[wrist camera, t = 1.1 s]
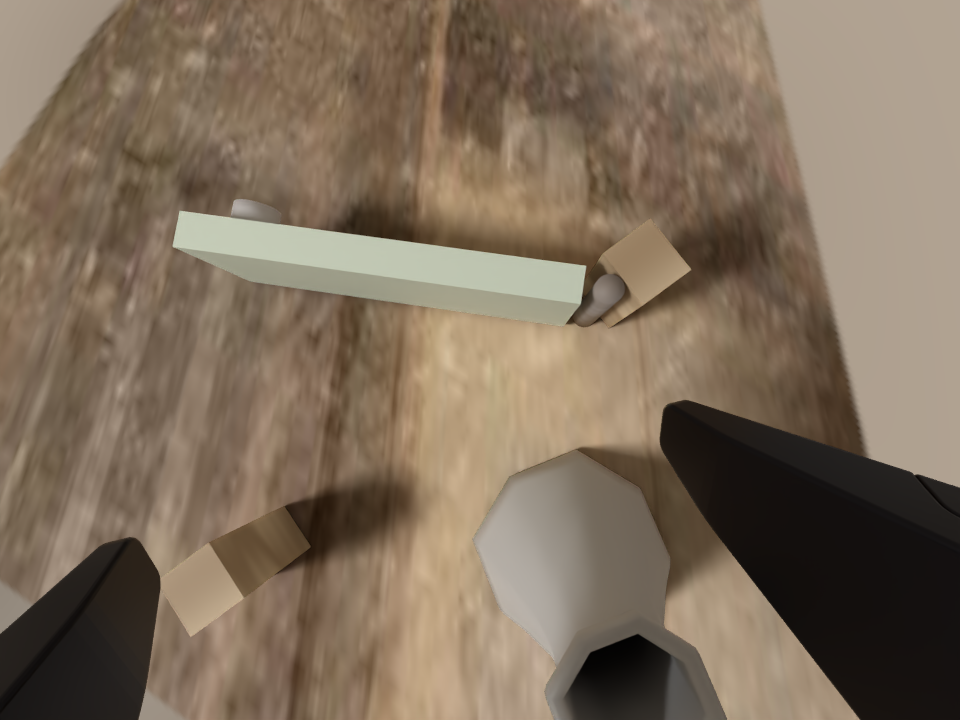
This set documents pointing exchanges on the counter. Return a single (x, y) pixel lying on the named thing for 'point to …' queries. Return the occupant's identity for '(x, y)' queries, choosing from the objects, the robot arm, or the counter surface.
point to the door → (381, 266)
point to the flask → (592, 593)
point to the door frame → (275, 537)
